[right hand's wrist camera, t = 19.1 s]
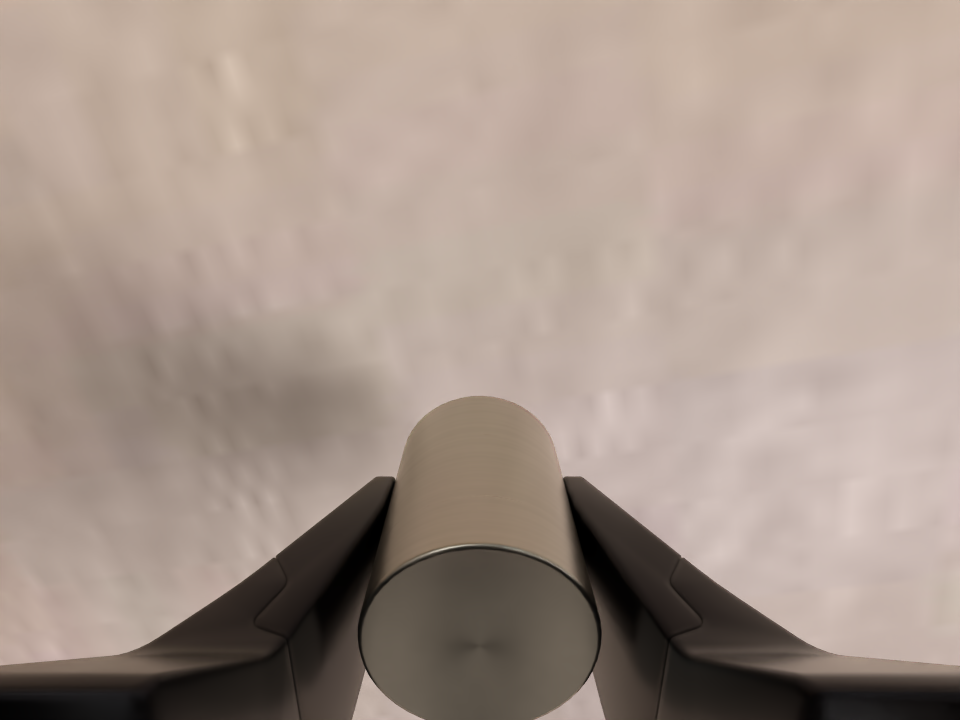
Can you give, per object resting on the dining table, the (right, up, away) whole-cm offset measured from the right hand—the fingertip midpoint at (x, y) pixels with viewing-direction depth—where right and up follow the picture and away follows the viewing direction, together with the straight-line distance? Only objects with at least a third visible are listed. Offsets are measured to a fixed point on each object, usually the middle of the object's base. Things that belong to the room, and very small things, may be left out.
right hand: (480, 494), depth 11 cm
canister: (0, 0, +1) cm, 1 cm away
